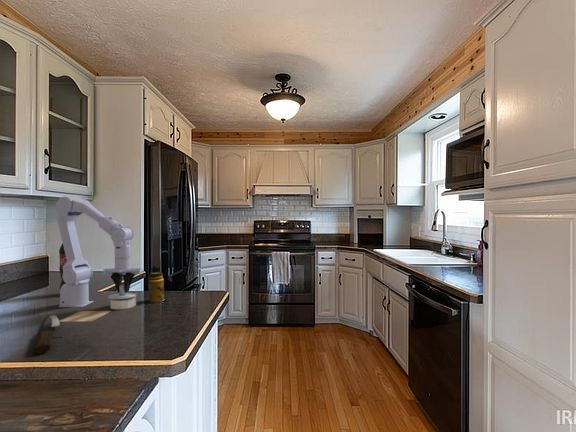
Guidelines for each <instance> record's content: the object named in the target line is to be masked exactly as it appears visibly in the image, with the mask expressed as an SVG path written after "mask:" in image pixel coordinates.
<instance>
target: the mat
mask: <svg viewBox="0 0 576 432" xmlns="http://www.w3.org/2000/svg"><path fill="white" fill-rule="evenodd" d="M110 312H112V311H111V310H91V311H90V310H83V311H82V310H79V311H77V312H75V313H73V314H70V315H69V316H67V317H65V318H62V319H60V320H59V322H61V323H69V322H71V323H72V322H73V323H74V322H76V323H77V322H83V323H84V322H90V323H91V322H94V321H96V320H98V319H99V318H101V317H103V316H105V315H107V314H108V313H110Z"/></svg>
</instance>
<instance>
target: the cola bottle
mask: <svg viewBox="0 0 576 432" xmlns="http://www.w3.org/2000/svg"><path fill="white" fill-rule="evenodd" d="M58 253H59V267H58V268H59V273H60V279H61V282H60V284H59V290H60V289H61V287H62V285H64V284H66V283H65V282H64V280H63V277H62V276H63V268H62V267H63V266H64V265H65V264H66V262H67V259H66V255H65V250H64V246H63V242H62V243H61V246H60V247H59V251H58ZM75 267H77V266H75ZM75 267H74V268H75Z"/></svg>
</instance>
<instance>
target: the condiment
mask: <svg viewBox="0 0 576 432" xmlns="http://www.w3.org/2000/svg"><path fill="white" fill-rule="evenodd" d="M163 275H164V274H163V272H162V271H154V272H150V273H149V277H148V278H149V279H148V300H149V301H148V302H150V303H159V302H162V301H164V300H165V279H164V277H163Z"/></svg>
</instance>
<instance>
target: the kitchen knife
mask: <svg viewBox="0 0 576 432" xmlns="http://www.w3.org/2000/svg"><path fill="white" fill-rule="evenodd" d="M59 321H60V320H59V318H58V316H56V315H55V314H51V315H49V316H47V318H46V320H45V322H44V323H43V327H41V328H40V329H39V330H38V333H37V338H36V341H35V345H34V347H33V348H34V354H41V355H42V354H46V353H47V352H49V350H51V347H52V339H53V333H54V332H53V331H54V329H56V328H58V327H60V322H59Z"/></svg>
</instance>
